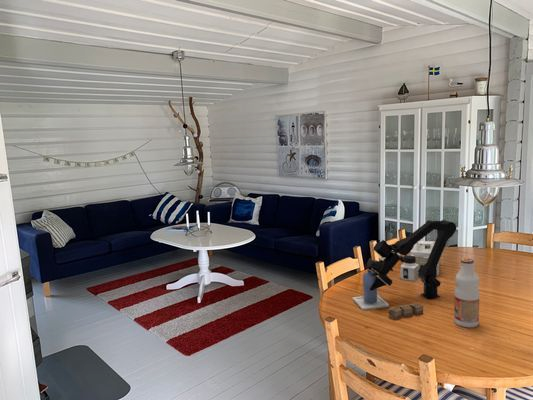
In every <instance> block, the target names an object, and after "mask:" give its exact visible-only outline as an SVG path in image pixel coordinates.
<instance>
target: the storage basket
mask: <svg viewBox="0 0 533 400" xmlns="http://www.w3.org/2000/svg"><path fill="white" fill-rule="evenodd" d="M434 244H435V241H431V240H430V241H429V240H420V241H418V242H417V243H416V244H415V245H414V247H413V249H412V250H411V251H410V252H409V253H410V255H413V256H415V257H416V264H418V266H419V269H420V265H425V264H426V263H427V261H428V258H429V256H430V253H431V251H432V248H433V246H434ZM421 246H425V247H427V246H430V247H429V248H421ZM436 268H437V275H436V277H439V275H440V261H439V262H438V264H437V267H436Z"/></svg>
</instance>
